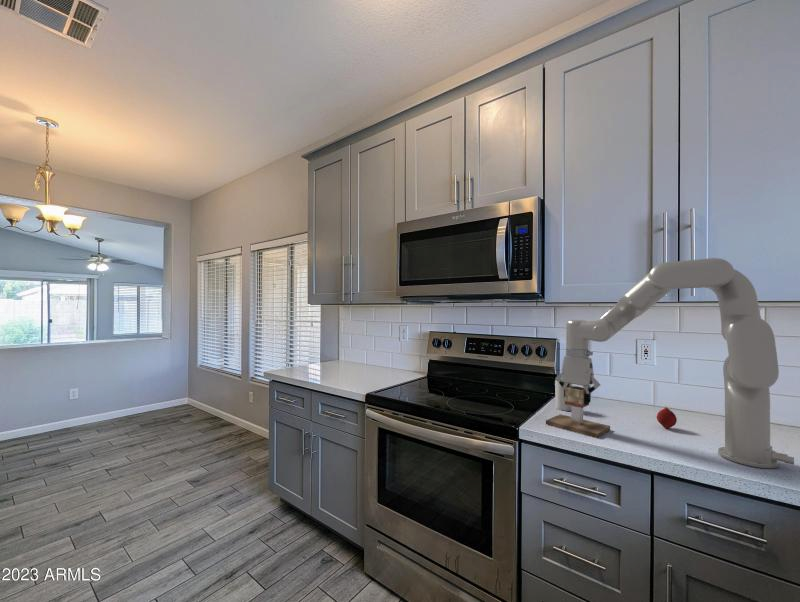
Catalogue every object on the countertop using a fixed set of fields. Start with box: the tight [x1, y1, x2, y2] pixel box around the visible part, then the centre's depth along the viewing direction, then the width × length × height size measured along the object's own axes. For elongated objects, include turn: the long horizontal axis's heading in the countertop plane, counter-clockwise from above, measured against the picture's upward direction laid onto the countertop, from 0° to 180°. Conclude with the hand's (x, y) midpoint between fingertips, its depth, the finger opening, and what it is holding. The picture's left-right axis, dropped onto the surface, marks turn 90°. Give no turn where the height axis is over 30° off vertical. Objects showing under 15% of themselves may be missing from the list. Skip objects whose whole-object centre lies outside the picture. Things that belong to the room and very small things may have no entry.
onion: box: [656, 406, 678, 430], centre depth 129 cm, size 6×6×8 cm
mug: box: [554, 379, 573, 412], centre depth 152 cm, size 10×7×12 cm, turn 52°
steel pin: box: [570, 406, 584, 425], centre depth 130 cm, size 3×3×7 cm
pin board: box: [545, 413, 611, 439], centre depth 130 cm, size 18×12×2 cm, turn 41°
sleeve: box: [565, 385, 590, 409], centre depth 130 cm, size 6×6×6 cm
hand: (576, 401), depth 130 cm, fingers closed on sleeve, 6 cm apart
